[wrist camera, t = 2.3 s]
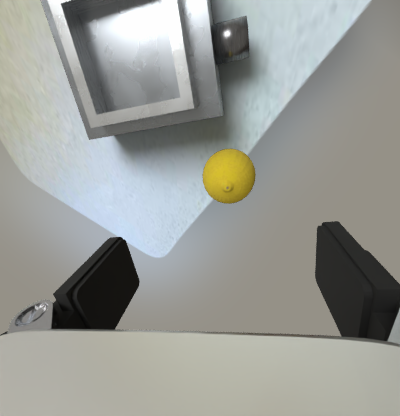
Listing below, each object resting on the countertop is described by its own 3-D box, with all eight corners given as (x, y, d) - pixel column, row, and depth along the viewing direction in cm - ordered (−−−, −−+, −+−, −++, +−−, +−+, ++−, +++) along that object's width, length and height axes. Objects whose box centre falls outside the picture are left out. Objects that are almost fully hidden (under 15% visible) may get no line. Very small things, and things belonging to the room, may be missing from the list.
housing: (240, -36, 20) (242, -105, 13) (251, 110, 24) (255, 110, 18) (77, 16, 23) (16, -19, 17) (113, 134, 28) (76, 142, 21)
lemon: (229, 196, 29) (227, 225, 21) (198, 167, 28) (185, 187, 20) (262, 166, 26) (272, 187, 19) (230, 133, 25) (227, 143, 18)
